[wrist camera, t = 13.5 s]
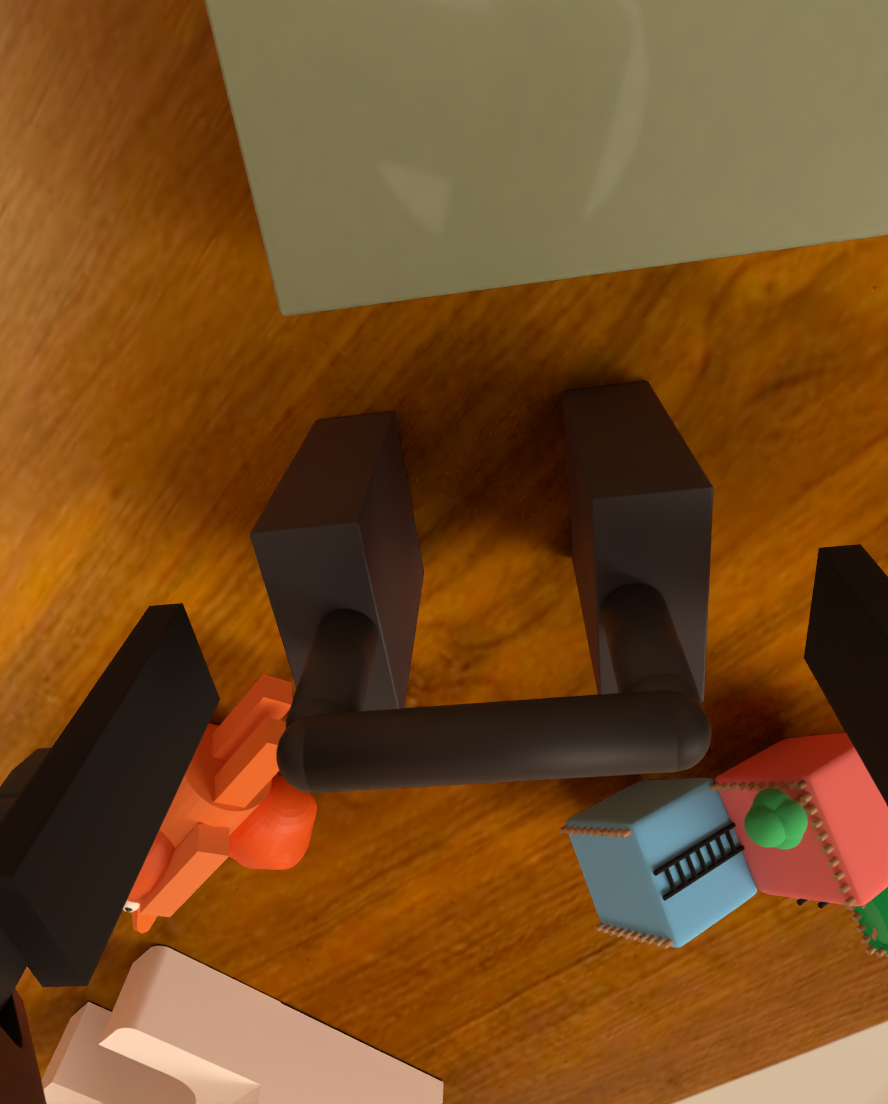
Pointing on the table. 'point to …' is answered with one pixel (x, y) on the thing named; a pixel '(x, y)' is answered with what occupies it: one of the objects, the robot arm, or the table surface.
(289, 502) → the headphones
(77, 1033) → the white thick notched block
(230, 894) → the table surface
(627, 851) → the building blocks
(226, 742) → the orange toy bird
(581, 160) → the shelf
